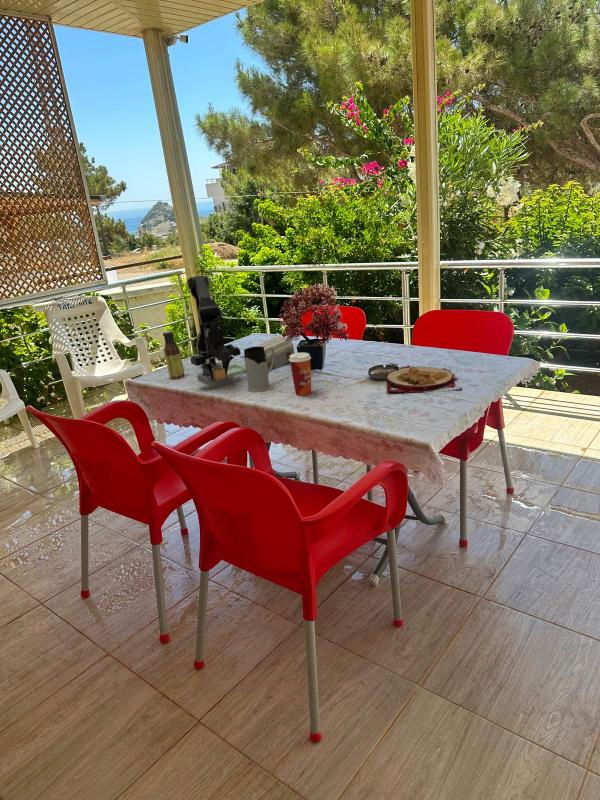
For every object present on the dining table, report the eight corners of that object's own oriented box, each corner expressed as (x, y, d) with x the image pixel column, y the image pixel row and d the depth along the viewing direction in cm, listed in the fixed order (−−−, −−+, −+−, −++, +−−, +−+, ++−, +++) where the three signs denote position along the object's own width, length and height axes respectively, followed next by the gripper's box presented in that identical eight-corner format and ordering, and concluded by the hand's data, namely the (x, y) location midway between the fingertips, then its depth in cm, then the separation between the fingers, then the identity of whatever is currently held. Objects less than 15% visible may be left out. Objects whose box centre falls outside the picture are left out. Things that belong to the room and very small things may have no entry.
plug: (213, 384, 216) (210, 367, 213) (222, 381, 218) (219, 364, 216) (217, 386, 212) (214, 369, 210) (226, 383, 215) (224, 366, 212)
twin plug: (204, 380, 222) (201, 363, 220) (213, 377, 224) (210, 361, 222) (208, 382, 219) (206, 365, 216) (217, 379, 221) (215, 363, 218)
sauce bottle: (188, 376, 231) (179, 329, 225) (179, 381, 226) (170, 333, 220) (175, 375, 234) (167, 329, 228) (166, 380, 229) (157, 333, 222)
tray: (214, 373, 231) (213, 369, 230) (237, 367, 237) (236, 363, 236) (226, 378, 222) (225, 374, 222) (250, 372, 228) (249, 368, 227)
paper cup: (307, 397, 191) (303, 358, 186) (288, 395, 195) (284, 357, 190) (318, 390, 197) (314, 352, 192) (300, 388, 201) (296, 351, 197)
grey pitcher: (242, 389, 207) (237, 351, 202) (268, 378, 216) (264, 341, 211) (259, 393, 201) (253, 353, 196) (285, 381, 211) (280, 343, 206)
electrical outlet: (305, 356, 240) (302, 334, 236) (259, 379, 222) (255, 356, 218) (286, 353, 248) (282, 332, 244) (240, 375, 229) (235, 353, 225)
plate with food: (387, 396, 186) (386, 386, 185) (385, 371, 211) (385, 362, 210) (462, 394, 183) (462, 384, 182) (452, 368, 207) (452, 359, 206)
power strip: (198, 381, 223) (196, 374, 222) (215, 376, 227) (214, 369, 226) (215, 389, 210) (214, 382, 209) (234, 384, 214) (233, 377, 213)
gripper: (199, 346, 198) (206, 387, 203) (244, 335, 207) (250, 375, 212) (186, 341, 207) (193, 381, 212) (231, 331, 216) (236, 369, 221)
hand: (219, 377), depth 214 cm, fingers open, 5 cm apart
